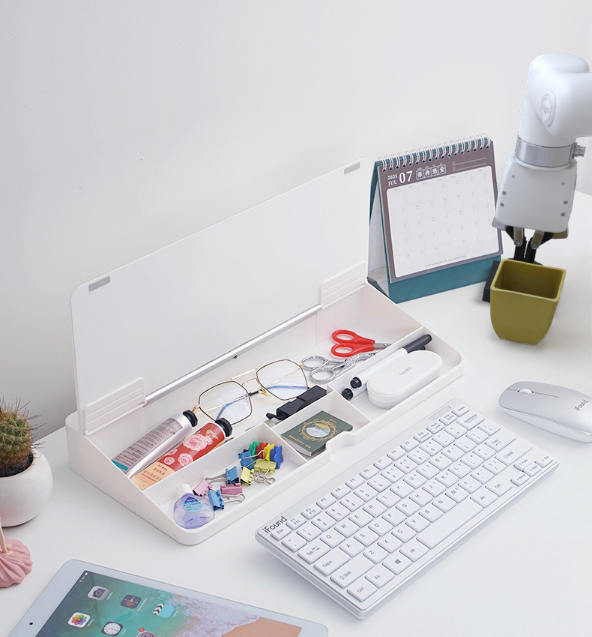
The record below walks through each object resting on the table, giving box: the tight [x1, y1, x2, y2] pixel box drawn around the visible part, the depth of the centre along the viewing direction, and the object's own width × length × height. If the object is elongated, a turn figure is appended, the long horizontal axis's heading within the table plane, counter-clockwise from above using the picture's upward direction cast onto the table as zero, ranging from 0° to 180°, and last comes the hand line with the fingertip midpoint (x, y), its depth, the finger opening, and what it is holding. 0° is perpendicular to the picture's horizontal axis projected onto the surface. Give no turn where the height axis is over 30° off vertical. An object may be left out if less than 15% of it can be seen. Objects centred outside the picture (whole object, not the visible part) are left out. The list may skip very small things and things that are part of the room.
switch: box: [481, 257, 543, 303], centre depth 119 cm, size 10×9×4 cm
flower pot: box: [489, 258, 567, 346], centre depth 109 cm, size 9×9×9 cm
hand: (522, 267), depth 118 cm, fingers closed
